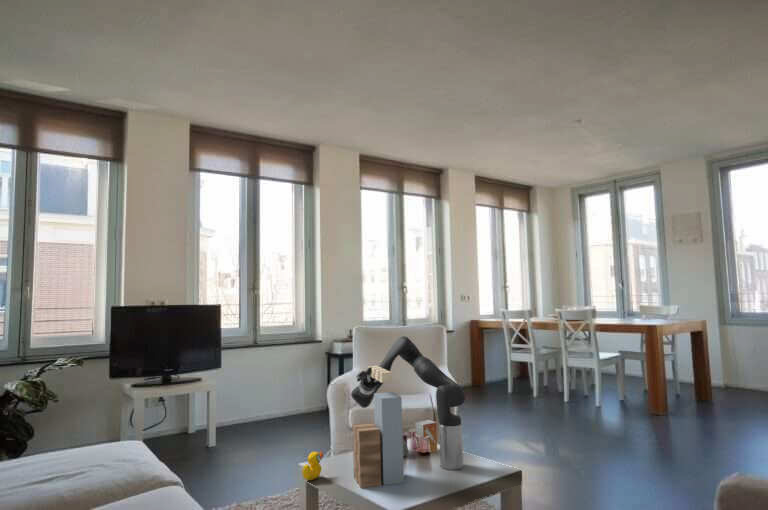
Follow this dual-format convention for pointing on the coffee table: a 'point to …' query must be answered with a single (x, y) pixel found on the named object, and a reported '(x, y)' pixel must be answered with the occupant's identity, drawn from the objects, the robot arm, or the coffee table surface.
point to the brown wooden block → (366, 455)
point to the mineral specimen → (405, 448)
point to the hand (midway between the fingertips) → (375, 368)
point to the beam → (380, 374)
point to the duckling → (312, 466)
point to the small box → (427, 432)
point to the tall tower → (390, 436)
